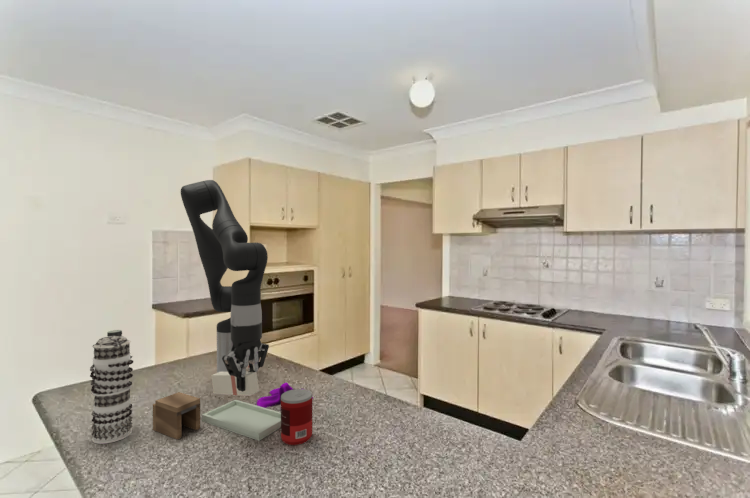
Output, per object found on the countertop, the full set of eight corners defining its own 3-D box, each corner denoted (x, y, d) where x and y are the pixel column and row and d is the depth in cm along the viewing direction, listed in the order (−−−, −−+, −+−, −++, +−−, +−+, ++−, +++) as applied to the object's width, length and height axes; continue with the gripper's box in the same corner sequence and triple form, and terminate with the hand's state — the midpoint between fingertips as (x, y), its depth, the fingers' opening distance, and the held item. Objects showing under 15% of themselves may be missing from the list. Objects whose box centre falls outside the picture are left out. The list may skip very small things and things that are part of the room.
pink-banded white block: (223, 389, 104) (220, 371, 105) (259, 391, 98) (256, 371, 98) (213, 393, 102) (210, 374, 102) (250, 395, 95) (247, 375, 95)
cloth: (301, 420, 107) (301, 398, 107) (242, 413, 112) (242, 392, 111) (329, 390, 129) (329, 372, 129) (278, 385, 133) (278, 368, 133)
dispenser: (176, 419, 106) (176, 391, 106) (200, 428, 101) (200, 398, 101) (152, 429, 100) (152, 399, 100) (177, 439, 95) (176, 407, 95)
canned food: (317, 432, 99) (317, 390, 99) (302, 448, 92) (302, 402, 91) (291, 427, 102) (291, 386, 101) (274, 442, 94) (274, 398, 94)
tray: (235, 405, 116) (235, 399, 116) (290, 421, 105) (290, 415, 105) (201, 421, 105) (201, 414, 105) (258, 440, 95) (258, 433, 95)
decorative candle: (139, 424, 103) (138, 332, 103) (126, 441, 94) (125, 340, 94) (99, 429, 101) (99, 334, 101) (83, 446, 92) (82, 343, 92)
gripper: (256, 314, 105) (257, 376, 106) (212, 325, 93) (213, 395, 93) (277, 317, 101) (277, 381, 102) (234, 328, 89) (235, 401, 90)
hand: (247, 387), depth 98 cm, fingers closed on pink-banded white block, 2 cm apart
